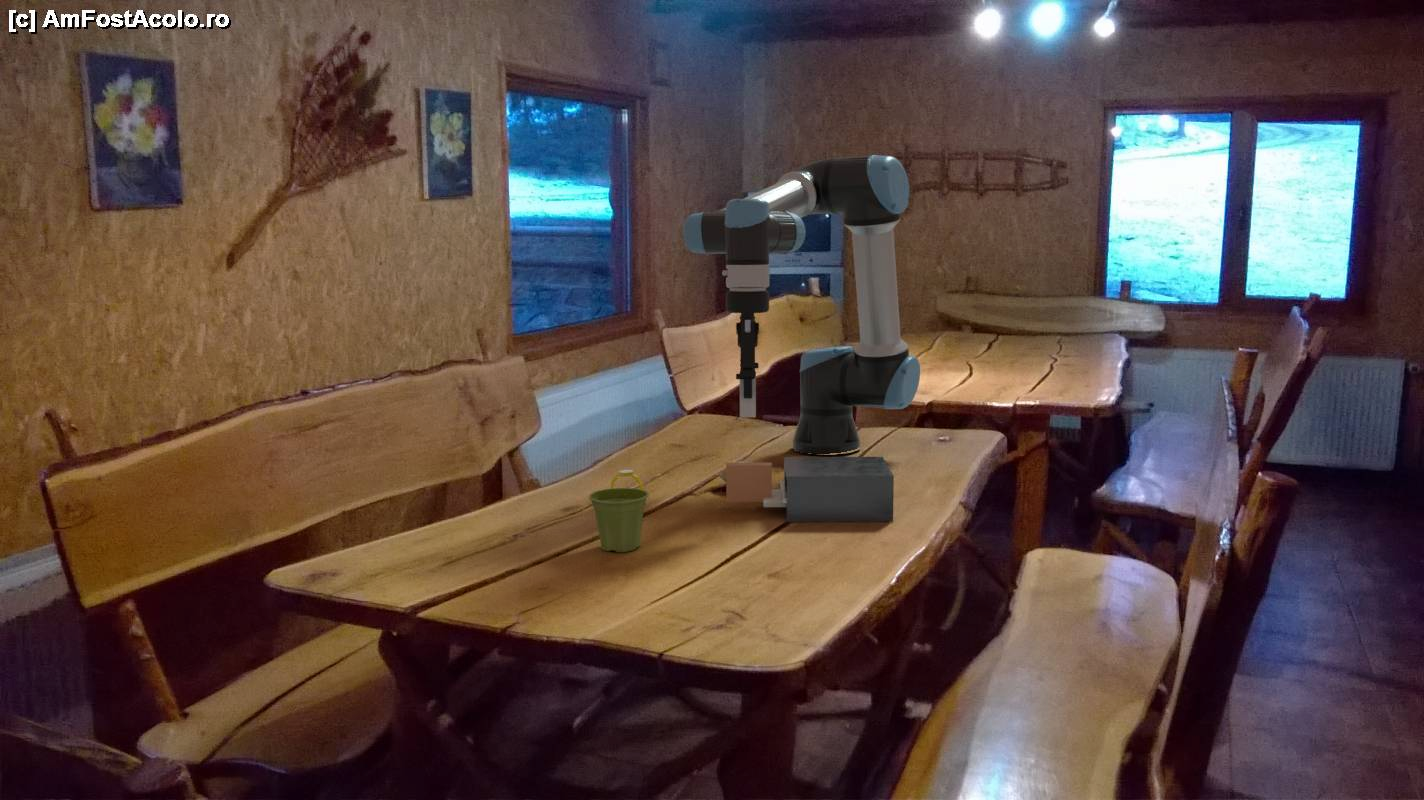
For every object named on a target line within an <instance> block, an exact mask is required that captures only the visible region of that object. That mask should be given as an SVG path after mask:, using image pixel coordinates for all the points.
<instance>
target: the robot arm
mask: <svg viewBox="0 0 1424 800" xmlns="http://www.w3.org/2000/svg"><path fill="white" fill-rule="evenodd" d="M909 198H910V184H909V179H908V175H907V173H906V171H905V168H904V166H903V165H902V163H901V162H900V161H899V160H898V159H897V158H896V157H894V156H890V155H877V154H873V155H860V156H857V155H856V156H847V157H846V156H845V157H828V158H823V159H819V160H815V161H813V162H810V163H808V164H804V165H802V166H799V167H798V168H795V169H793V170H791V171H789V172H786V173H784V174H783V175H782V176H780V177H779V178H778V180H777V182H776V183H774V184H772V185H770V186H768V187H766V188H764V189H762V190H759V191H757V192H754V193H753V194H751V195H748V196H746V197H743V198H734V199H729V201H727V202H726V205H725V206H724V207H722V208H719V209H717V210H715V211H712V212H705V211H701V212H698V213H692V214H690V215H689V216H688V217H687V218H686V220H685V222H684V225H683V229H682V230H683V231H682V234H683V240H684V244H685V246H686V248H687V249H688V250H689V251H690V252H692V253H695V254H704V255H716V254H717V255H723V254H725V268H726V269H723V270H722V272H721V274H722V276H723V277H726V278H725V285H726V287H727V288H728V289H729V290H727V291H726V292H725V310H726V312H727V313H731V314H740V315H739V320H740V321H739V322H736V325H735V328H736V329H735V333H736V335H737V347H738V348H740V359H739V363H740V364H739V365H740V369H739V370H740V371H739V373H736V374H735V380H739V418H756V417H757V415H756V414H757V402H756V401H757V398H756V397H757V391H756V390H757V387H756V386H757V382H756V381H757V379H756V378H757V376H756V375H757V372H756V369H759V362H756V347H757V346H758V344H759V343H758V339H759V338H758V337H759V336H758V335H759V334H760V324H759V322H756V316H755V314H761V313H763V314H764V313H767V312H769V311H770V292H769V291H768V290H767V288H769V287H770V255H787V254H790V253H794V252H796V251H798V250H799V249H800V248H801V247H802V245H803V244H804V241H805V239H806V225H805V223H804V221H803V219H802V218H804V217H806V216H808V215H842V218H843V226H844V227H845V228H846V229H848V230H849V231H850V233H851V236H852V237H851V239H852V251H853V261H854V262H853V263H854V276H855V290H856V301H857V313H858V314H857V316H858V326H859V327H858V328H859V340H860V341H859V343H858V344H857V345H856V346H855V347H853V346H851V345H843V346H842V345H841V346H830V347H823V348H815V349H810V350H806V351H805V352H803V353H802V355H801V357H800V367H799V368H800V369H799V373H800V374H799V377H800V379H799V381H800V385H799V389H800V392H799V393H800V414H799V415H800V416H799V420H798V423H797V427H796V429H795V432H794V436H793V438H792V450H793V449H794V450H796V451H798V452H797V453H799V452H802V453H801V454H803V453H811V454H830V453H841V452H847V451H851V450H855V449H857V448H858V447H860V448H861V438H860V435H859V433H858V429H857V426H856V423H855V421H854V417H853V416H854V415H853V407H863V408H864V407H865V408H876V409H885V410H886V411H887V410H888V411H889V410H902V409H905V408H907V407H908V406H909V405H911V403H912V402H913V400H914V398H915V397H916V395H917V392H918V387H919V384H920V378H921V364H920V362H919V359H918V358H917V357H916V356H914V355H910V353H909V352H910V351H909V344H908V343H906V341H905V340H903V339H902V338H901V325H900V324H901V323H900V309H899V297H898V296H899V294H898V281H897V277H898V276H897V264H896V252H895V251H896V249H895V233H894V228H895V227H896V226H897V224H898V223H899V222H900V221H901V213H903V212H905V211H906V209H907V208H908V205H909ZM794 450H793V451H794ZM796 451H795V452H796Z"/></svg>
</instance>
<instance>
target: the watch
mask: <svg viewBox="0 0 1424 800" xmlns="http://www.w3.org/2000/svg"><path fill="white" fill-rule="evenodd" d="M619 477H631V478H633V479H635V481H636V482H637V484H638V487H639V488H638V489H642V490H644V483H643V480H642V479H641V477H640V476H639V475H638V474H636V473H635V471H634V470H633V469H622V470H619V471H618V474H617V475H615V476H614V477H613V479H612V480H611V483H610V488H616V485H615V484H616V481H617V480H618V478H619Z"/></svg>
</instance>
